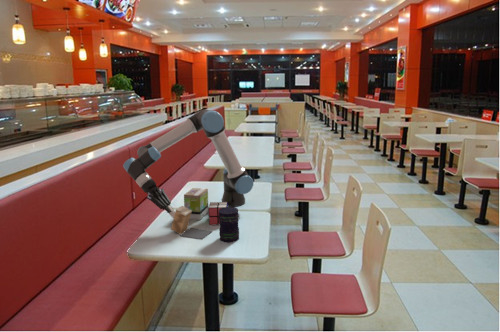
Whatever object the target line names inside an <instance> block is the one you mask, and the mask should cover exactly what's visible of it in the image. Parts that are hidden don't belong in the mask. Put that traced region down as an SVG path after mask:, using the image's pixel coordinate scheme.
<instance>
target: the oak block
mask: <svg viewBox="0 0 500 332" xmlns="http://www.w3.org/2000/svg"><path fill="white" fill-rule="evenodd" d="M191 212H192V210H190V209H188V208H186V207H184V205H181V206H179V207H178V208H176V209H175V216H174V218H173V220H172V225H171V228H170V230H172V231H174V232H175V233H177V234H179V235H181V234H183V233H184V231H187V230H188V226H189V223H190V216H191Z"/></svg>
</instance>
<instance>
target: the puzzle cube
mask: <svg viewBox="0 0 500 332" xmlns="http://www.w3.org/2000/svg"><path fill="white" fill-rule="evenodd" d="M225 207H229V206H228V202H222V201H219V202H217V201H215V202H213V201H211V202H210V201H209V204H208V225H210V226H215V225H217V226H220V222H219V209H221V208H225Z"/></svg>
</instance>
